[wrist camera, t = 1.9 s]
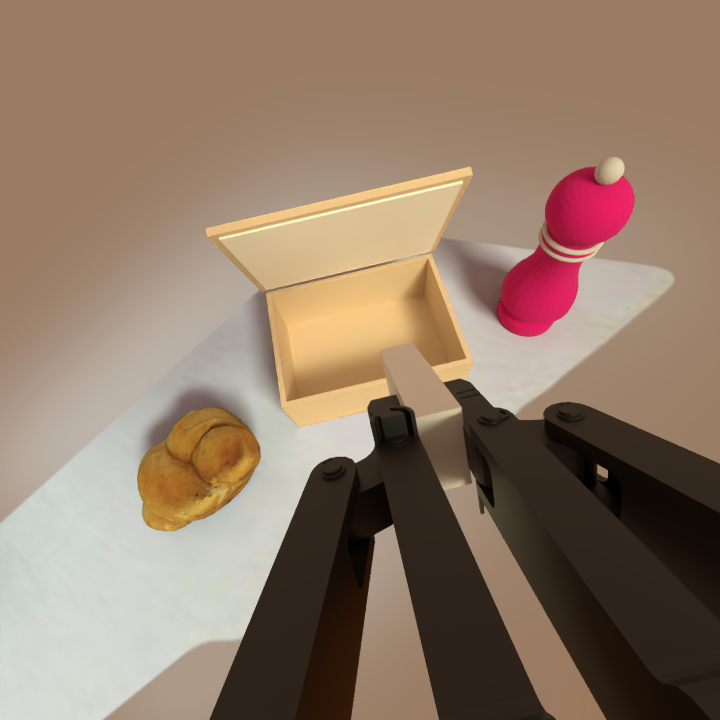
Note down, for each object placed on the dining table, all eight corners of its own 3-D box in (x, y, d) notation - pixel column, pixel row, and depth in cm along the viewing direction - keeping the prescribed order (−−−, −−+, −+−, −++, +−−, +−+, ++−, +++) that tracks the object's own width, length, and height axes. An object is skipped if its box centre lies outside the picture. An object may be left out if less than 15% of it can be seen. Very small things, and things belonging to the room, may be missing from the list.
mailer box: (299, 427, 40) (281, 408, 34) (283, 325, 46) (265, 292, 40) (461, 388, 41) (473, 362, 34) (426, 291, 46) (431, 253, 40)
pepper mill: (525, 352, 42) (625, 216, 24) (479, 310, 45) (537, 158, 26) (571, 317, 43) (698, 162, 25) (523, 277, 46) (607, 112, 28)
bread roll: (176, 555, 36) (121, 561, 29) (135, 475, 40) (77, 463, 33) (284, 467, 39) (258, 452, 32) (236, 399, 43) (203, 372, 35)
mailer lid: (207, 239, 25) (205, 228, 26) (262, 292, 39) (260, 285, 39) (473, 176, 26) (470, 166, 26) (434, 252, 39) (433, 245, 40)
